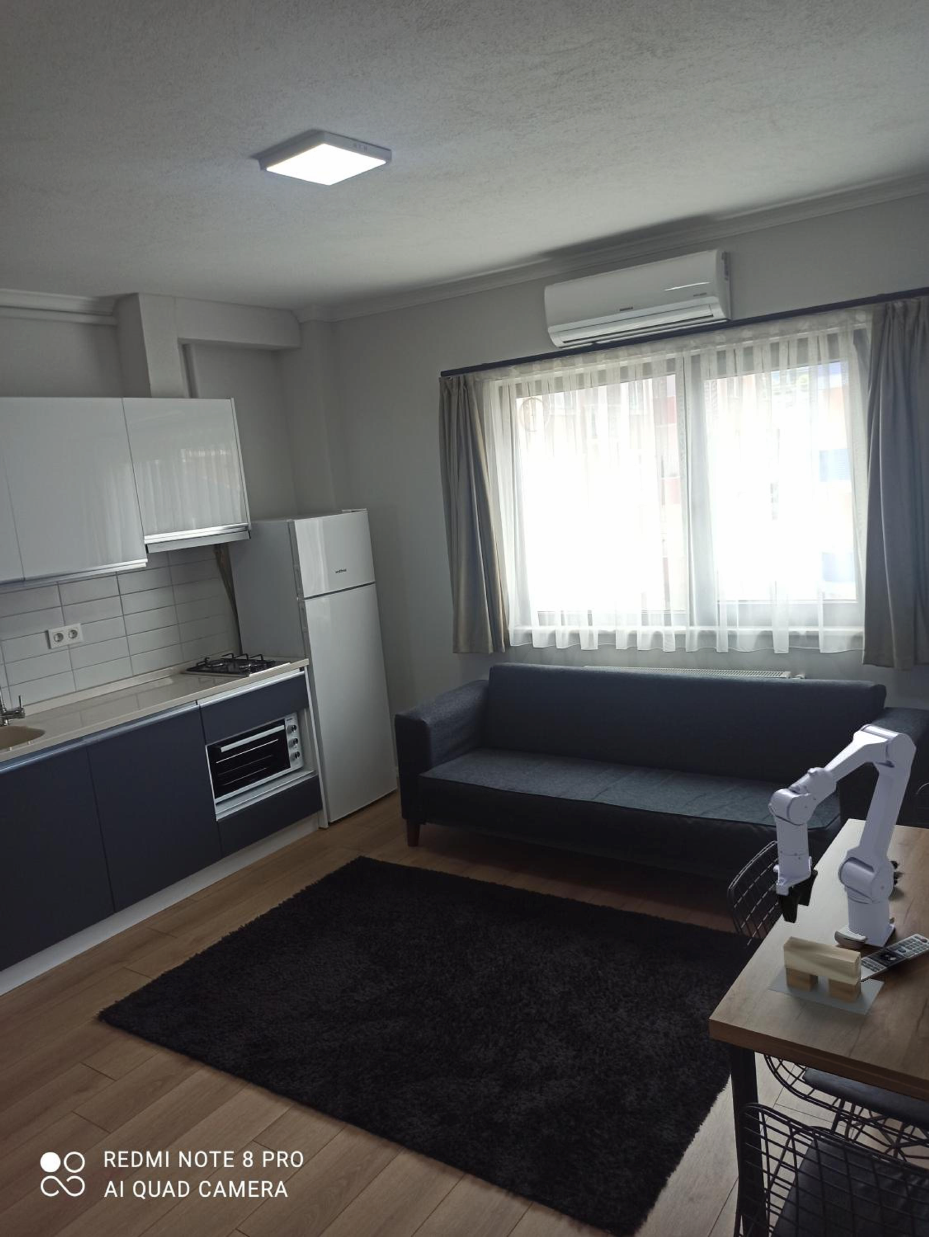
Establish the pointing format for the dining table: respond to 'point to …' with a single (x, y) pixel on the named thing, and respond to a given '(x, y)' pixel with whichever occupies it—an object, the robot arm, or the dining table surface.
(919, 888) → the dining table surface
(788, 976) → the block
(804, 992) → the mat
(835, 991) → the block
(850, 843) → the dining table surface
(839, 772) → the robot arm
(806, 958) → the plank
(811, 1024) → the dining table surface
